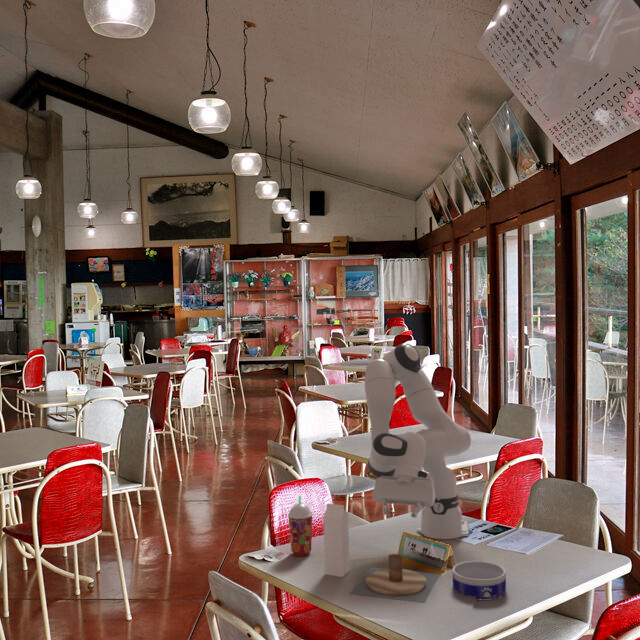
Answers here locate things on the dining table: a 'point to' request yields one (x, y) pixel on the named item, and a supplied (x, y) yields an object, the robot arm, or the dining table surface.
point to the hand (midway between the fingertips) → (399, 515)
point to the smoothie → (300, 529)
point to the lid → (396, 579)
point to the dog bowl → (479, 579)
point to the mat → (417, 597)
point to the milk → (336, 540)
